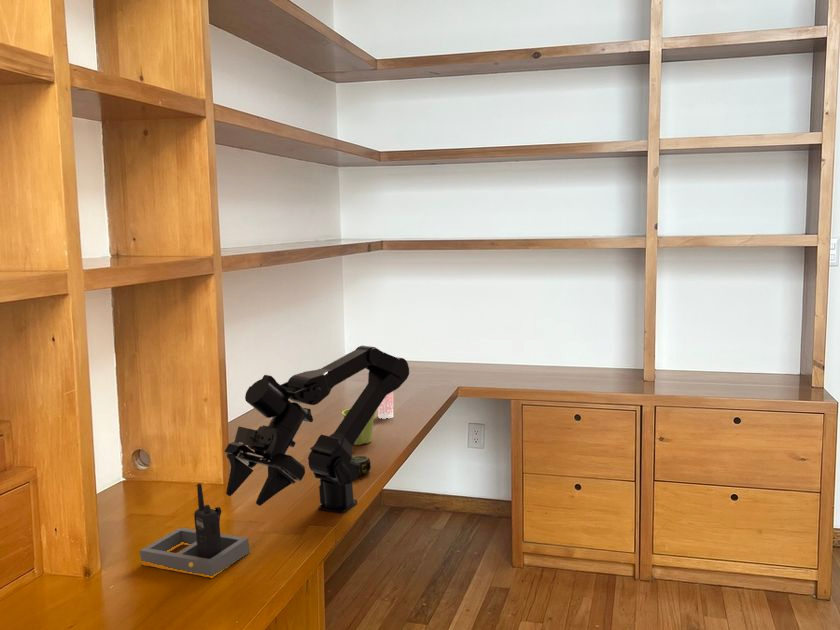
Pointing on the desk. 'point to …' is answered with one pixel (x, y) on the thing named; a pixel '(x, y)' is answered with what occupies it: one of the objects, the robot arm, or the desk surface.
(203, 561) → the charging station
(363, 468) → the tape measure
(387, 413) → the beverage cup
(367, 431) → the plant pot
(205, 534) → the two-way radio
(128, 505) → the desk surface
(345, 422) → the robot arm
